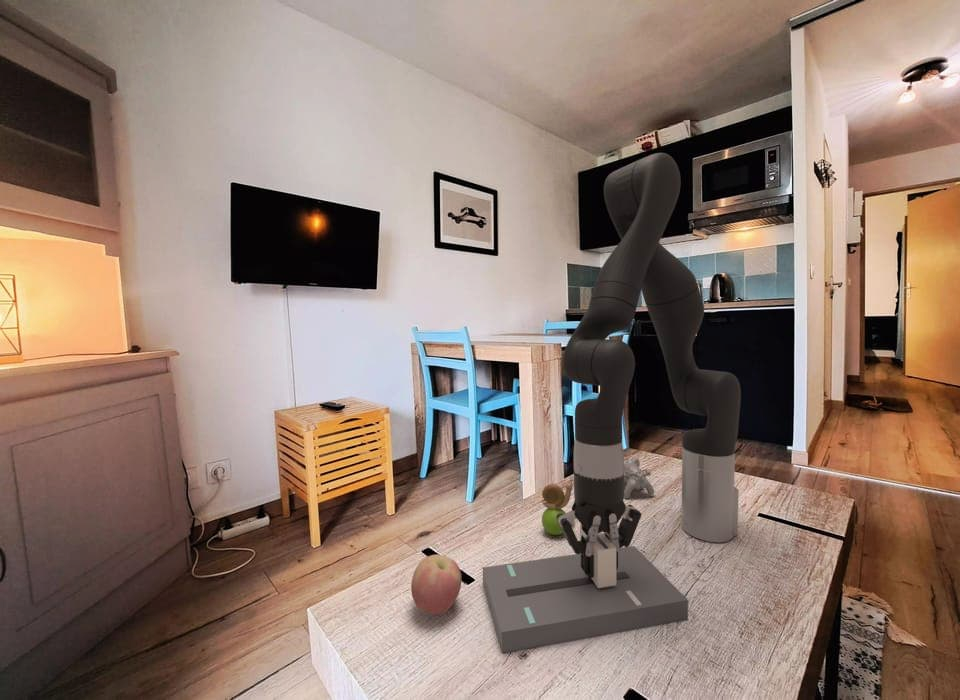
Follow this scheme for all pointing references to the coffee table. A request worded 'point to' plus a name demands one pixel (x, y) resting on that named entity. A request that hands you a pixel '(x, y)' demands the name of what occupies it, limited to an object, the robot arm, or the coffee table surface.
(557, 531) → the snail figurine
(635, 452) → the coffee table surface
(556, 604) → the fader console
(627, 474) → the grey animal figurine
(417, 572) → the apple
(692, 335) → the robot arm
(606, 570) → the fader
